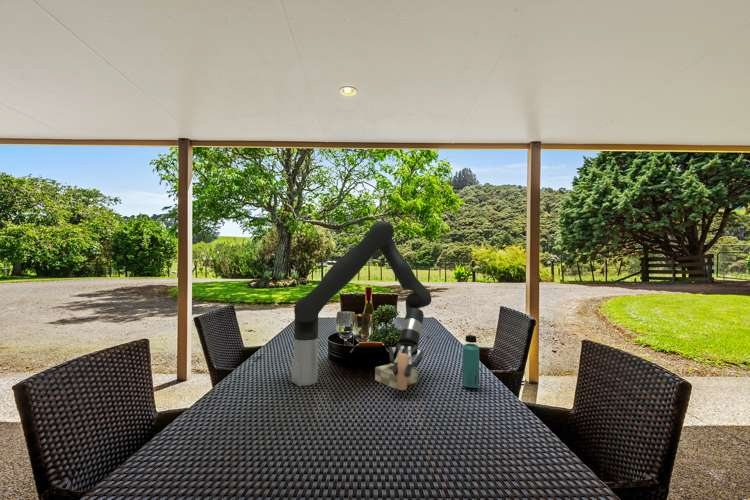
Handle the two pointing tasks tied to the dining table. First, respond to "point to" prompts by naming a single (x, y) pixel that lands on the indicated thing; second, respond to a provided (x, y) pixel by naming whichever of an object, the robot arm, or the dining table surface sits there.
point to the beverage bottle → (470, 363)
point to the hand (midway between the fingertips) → (400, 375)
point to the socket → (388, 378)
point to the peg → (402, 371)
